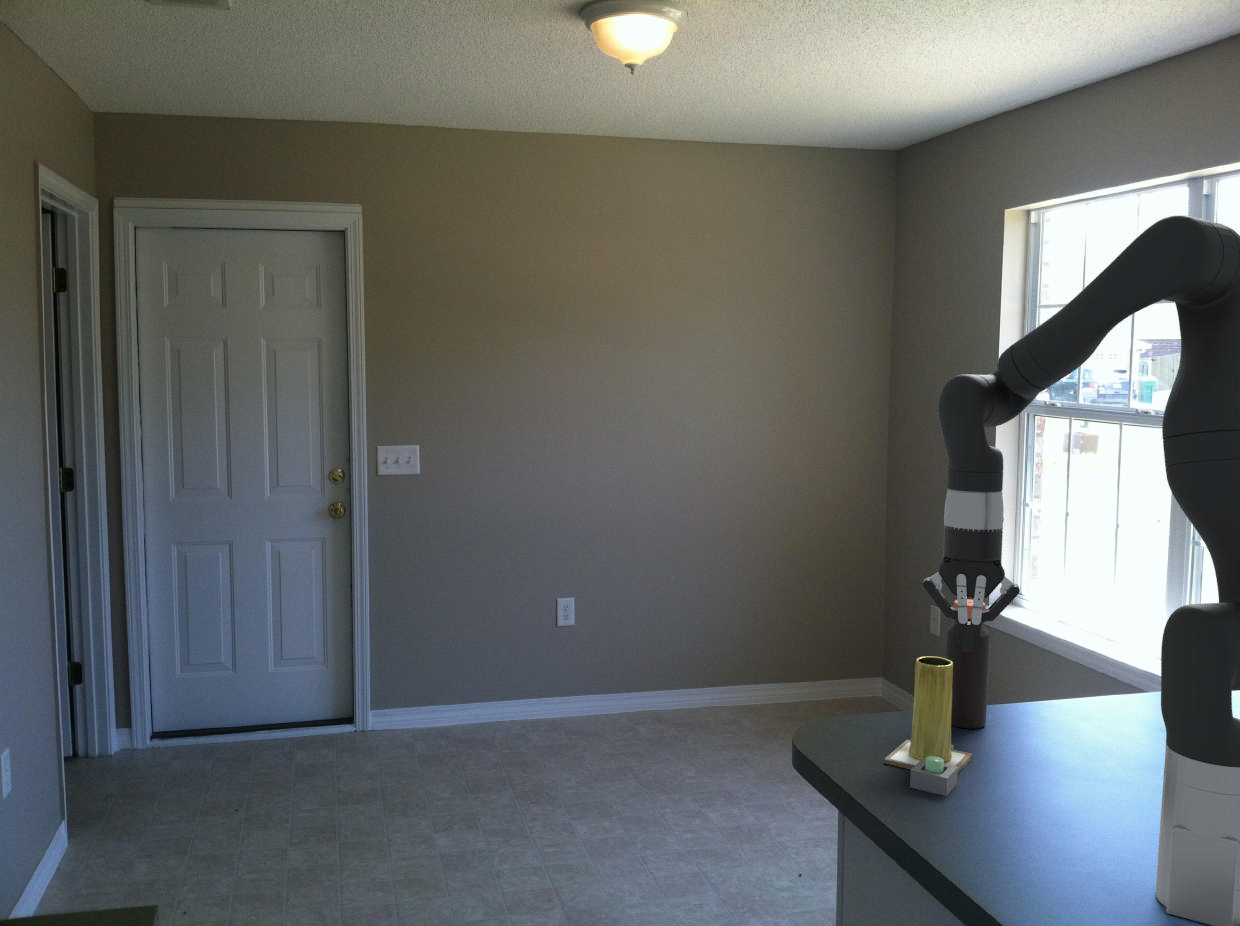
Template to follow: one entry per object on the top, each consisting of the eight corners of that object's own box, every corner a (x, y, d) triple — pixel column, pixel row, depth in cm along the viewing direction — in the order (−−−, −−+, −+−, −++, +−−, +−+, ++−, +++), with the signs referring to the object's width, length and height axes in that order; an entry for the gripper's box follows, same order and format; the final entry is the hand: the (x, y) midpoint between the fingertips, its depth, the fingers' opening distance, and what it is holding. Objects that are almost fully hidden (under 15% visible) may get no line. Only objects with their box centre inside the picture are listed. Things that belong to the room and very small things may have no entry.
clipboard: (952, 779, 147) (953, 769, 147) (884, 763, 153) (884, 753, 152) (972, 757, 155) (973, 748, 155) (906, 743, 161) (907, 734, 161)
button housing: (946, 796, 141) (947, 778, 141) (909, 787, 144) (910, 769, 144) (956, 784, 145) (957, 766, 145) (921, 775, 148) (922, 758, 148)
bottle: (933, 720, 171) (939, 601, 169) (957, 712, 176) (963, 595, 174) (970, 732, 166) (976, 609, 164) (994, 724, 170) (1000, 603, 168)
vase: (904, 758, 153) (908, 663, 151) (913, 745, 158) (917, 653, 157) (947, 766, 150) (952, 669, 149) (955, 752, 155) (959, 658, 154)
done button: (939, 786, 143) (940, 764, 143) (922, 782, 144) (923, 760, 144) (944, 781, 145) (946, 758, 145) (927, 777, 146) (928, 754, 146)
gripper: (921, 524, 139) (916, 652, 140) (1027, 529, 135) (1021, 661, 136) (923, 517, 146) (918, 639, 147) (1024, 522, 142) (1018, 647, 143)
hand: (968, 649), depth 142 cm, fingers closed
